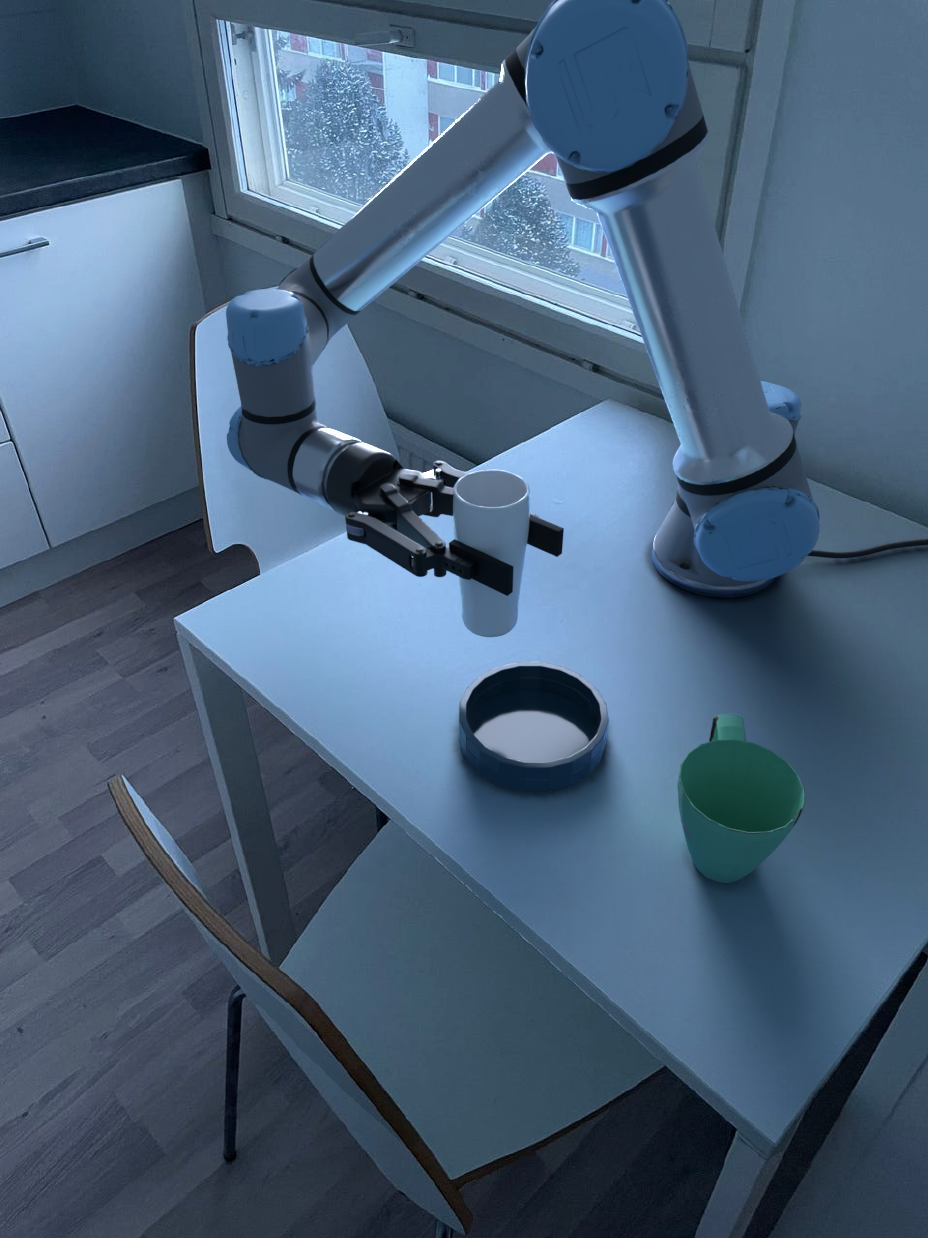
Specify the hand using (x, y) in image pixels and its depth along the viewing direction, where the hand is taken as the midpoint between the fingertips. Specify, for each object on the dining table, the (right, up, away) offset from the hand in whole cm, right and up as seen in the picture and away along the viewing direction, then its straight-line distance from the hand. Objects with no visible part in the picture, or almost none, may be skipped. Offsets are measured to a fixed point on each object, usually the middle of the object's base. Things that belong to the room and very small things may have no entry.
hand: (535, 561), depth 78 cm
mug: (+16, -25, +2) cm, 30 cm away
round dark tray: (0, -17, +11) cm, 20 cm away
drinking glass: (-4, -6, +9) cm, 11 cm away
